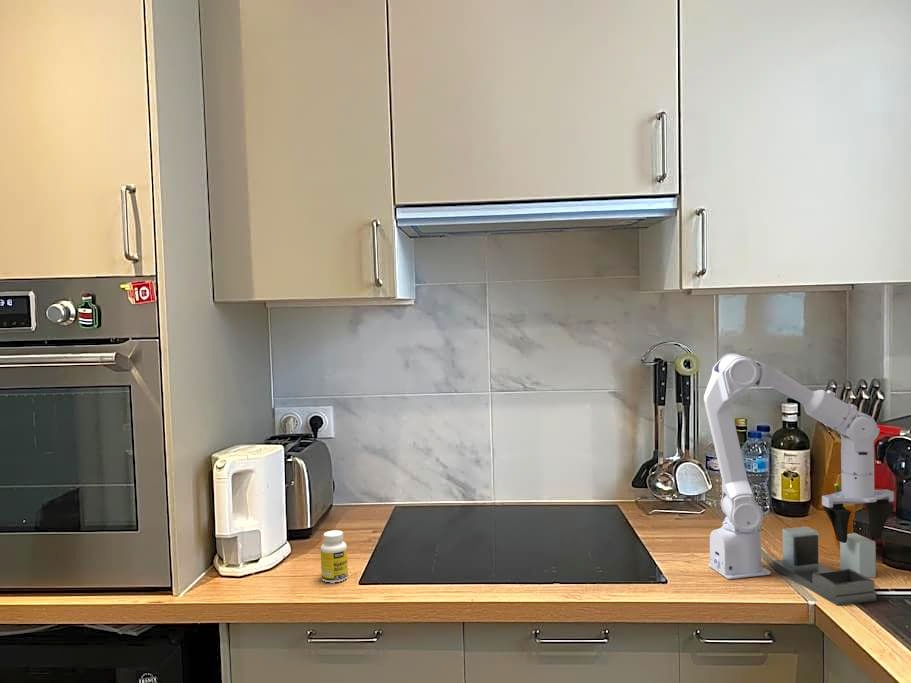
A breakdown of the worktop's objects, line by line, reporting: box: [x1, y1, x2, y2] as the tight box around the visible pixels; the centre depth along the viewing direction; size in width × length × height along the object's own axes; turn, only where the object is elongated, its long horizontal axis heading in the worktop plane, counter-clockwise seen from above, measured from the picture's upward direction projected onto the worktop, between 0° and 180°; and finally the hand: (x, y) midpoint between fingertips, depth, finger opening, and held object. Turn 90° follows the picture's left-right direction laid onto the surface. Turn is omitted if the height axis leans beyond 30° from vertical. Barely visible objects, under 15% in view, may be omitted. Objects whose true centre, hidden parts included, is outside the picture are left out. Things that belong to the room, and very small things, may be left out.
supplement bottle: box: [320, 529, 349, 584], centre depth 151 cm, size 5×5×10 cm
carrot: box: [829, 482, 856, 550], centre depth 156 cm, size 5×5×15 cm
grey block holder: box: [772, 526, 877, 606], centre depth 139 cm, size 8×19×8 cm, turn 10°
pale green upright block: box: [839, 532, 877, 578], centre depth 144 cm, size 4×6×7 cm
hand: (858, 539), depth 144 cm, fingers open, 7 cm apart
